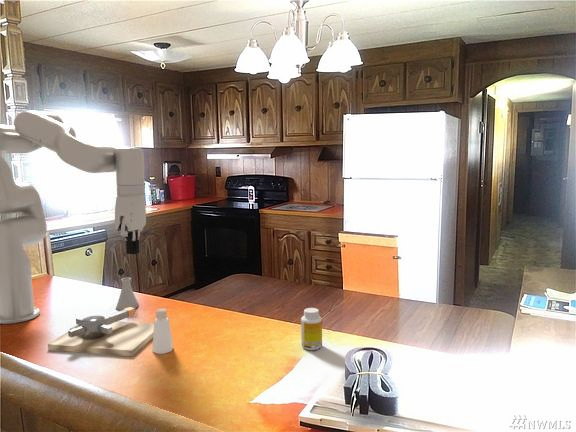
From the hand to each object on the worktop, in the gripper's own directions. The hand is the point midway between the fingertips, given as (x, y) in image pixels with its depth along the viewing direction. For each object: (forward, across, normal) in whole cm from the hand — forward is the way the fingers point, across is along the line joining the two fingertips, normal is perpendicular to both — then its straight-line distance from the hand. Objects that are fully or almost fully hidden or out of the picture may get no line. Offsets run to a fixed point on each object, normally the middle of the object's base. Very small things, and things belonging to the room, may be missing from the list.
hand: (132, 253), depth 130 cm
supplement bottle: (+22, +4, +54) cm, 58 cm away
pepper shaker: (+23, +13, +15) cm, 30 cm away
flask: (+23, -16, -12) cm, 31 cm away
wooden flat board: (+23, +9, -3) cm, 25 cm away
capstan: (+21, +8, -5) cm, 23 cm away
